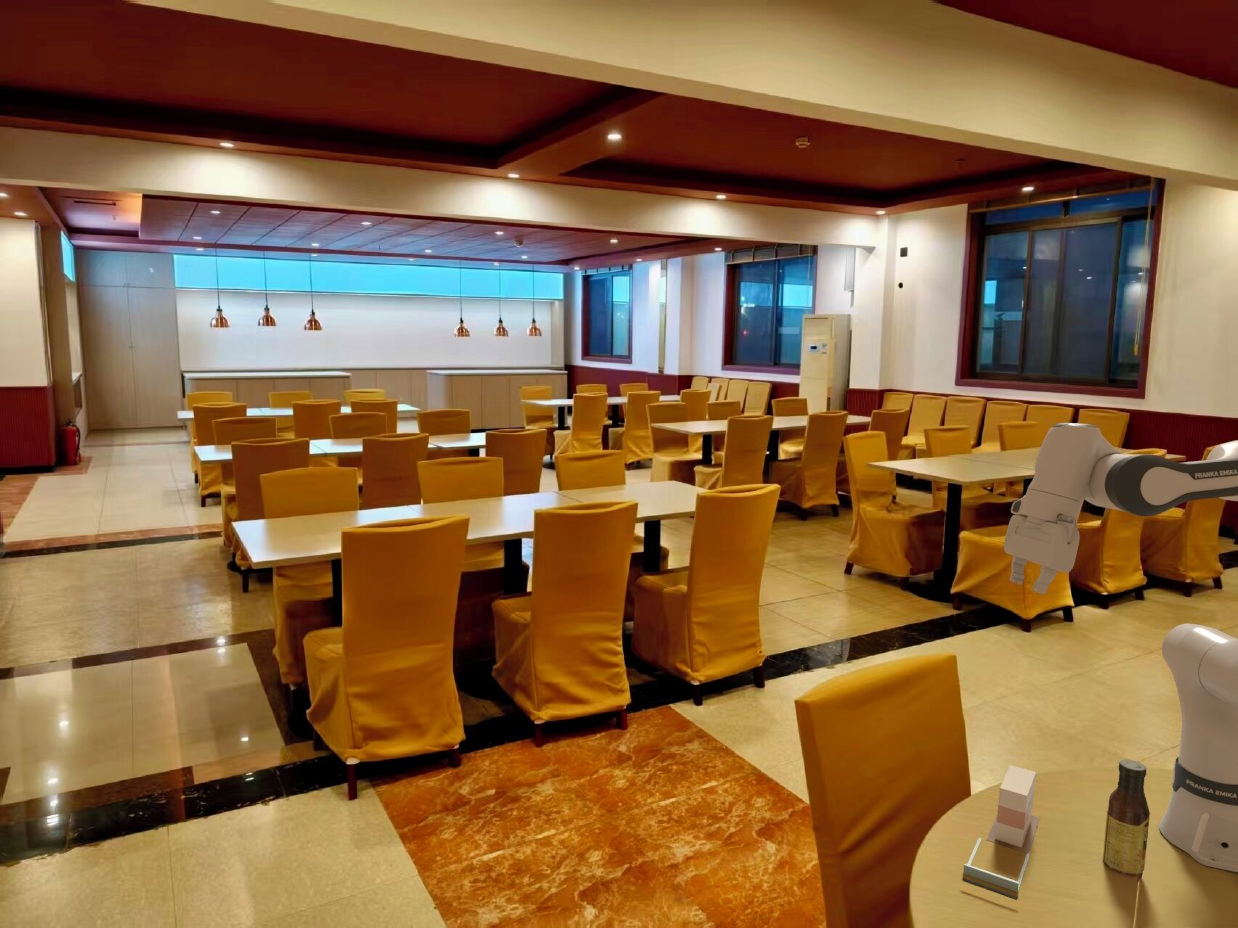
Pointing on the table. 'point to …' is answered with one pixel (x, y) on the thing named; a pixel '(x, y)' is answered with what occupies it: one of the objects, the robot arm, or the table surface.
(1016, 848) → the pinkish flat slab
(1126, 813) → the sauce bottle
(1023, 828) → the tile stack
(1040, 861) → the table surface
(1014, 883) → the tray
